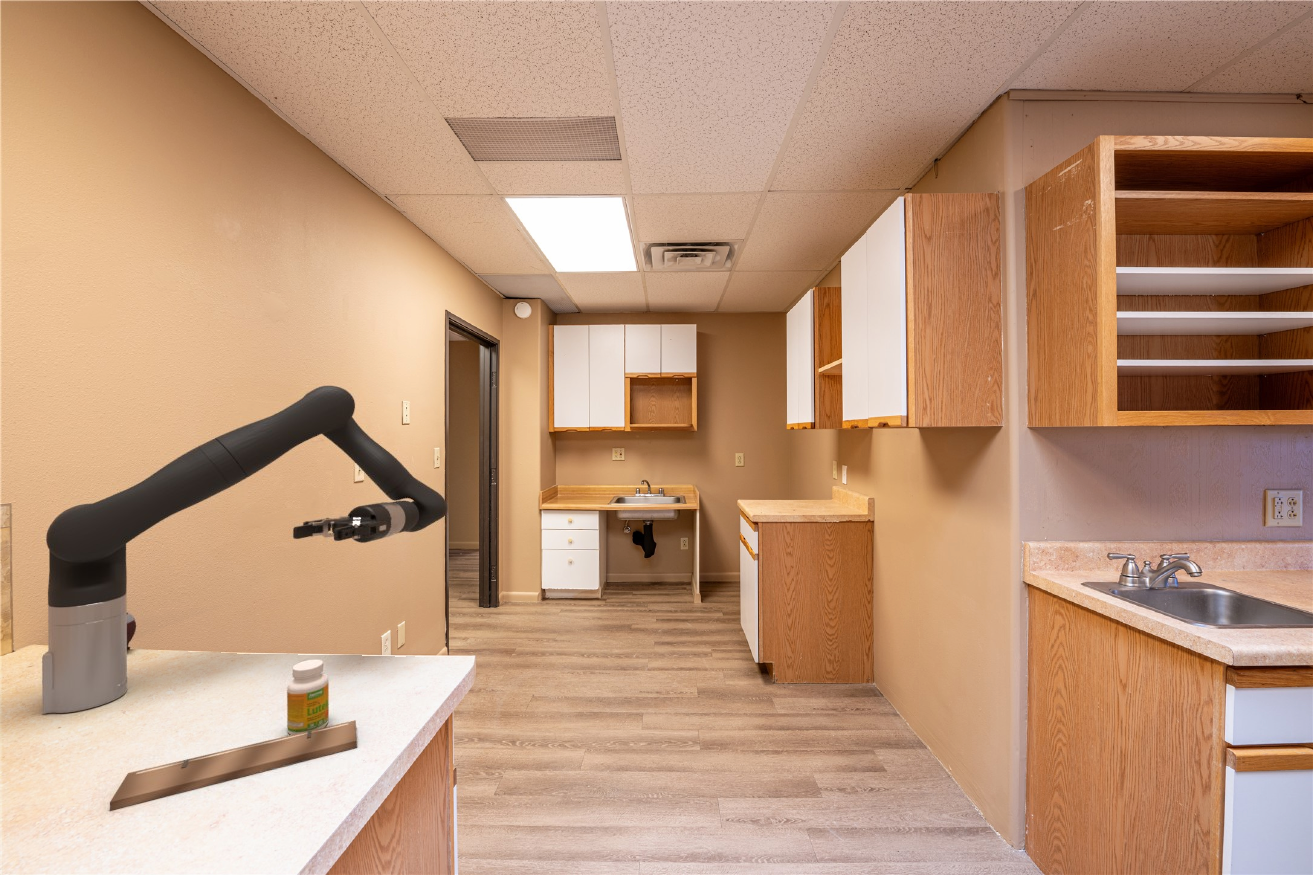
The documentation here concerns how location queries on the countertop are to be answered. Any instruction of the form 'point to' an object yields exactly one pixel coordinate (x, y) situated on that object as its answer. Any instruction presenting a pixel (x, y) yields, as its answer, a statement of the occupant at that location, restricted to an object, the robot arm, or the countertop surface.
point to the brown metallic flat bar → (232, 764)
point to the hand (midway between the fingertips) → (315, 534)
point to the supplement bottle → (307, 698)
